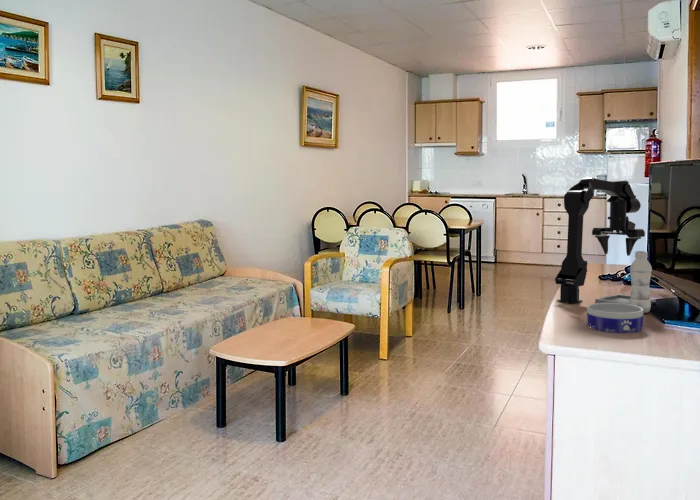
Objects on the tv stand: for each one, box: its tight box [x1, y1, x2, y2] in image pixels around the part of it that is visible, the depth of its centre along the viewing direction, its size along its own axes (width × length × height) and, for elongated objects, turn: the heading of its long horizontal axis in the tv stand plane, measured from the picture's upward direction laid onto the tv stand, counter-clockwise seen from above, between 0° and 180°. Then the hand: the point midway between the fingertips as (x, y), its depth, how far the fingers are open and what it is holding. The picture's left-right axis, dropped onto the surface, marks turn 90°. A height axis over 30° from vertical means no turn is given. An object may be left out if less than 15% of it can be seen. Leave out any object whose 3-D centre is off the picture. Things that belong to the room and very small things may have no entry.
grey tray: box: [594, 293, 657, 304], centre depth 213 cm, size 14×14×2 cm
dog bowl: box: [586, 303, 644, 334], centre depth 180 cm, size 15×15×6 cm
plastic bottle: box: [629, 250, 653, 314], centre depth 196 cm, size 6×7×20 cm
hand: (617, 254), depth 233 cm, fingers open, 9 cm apart
